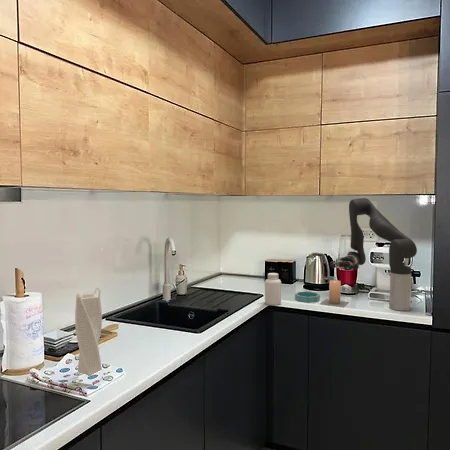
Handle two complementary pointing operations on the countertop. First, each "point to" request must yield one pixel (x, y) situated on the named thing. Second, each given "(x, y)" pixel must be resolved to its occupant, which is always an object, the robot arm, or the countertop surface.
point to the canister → (334, 291)
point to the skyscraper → (88, 331)
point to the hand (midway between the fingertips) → (341, 267)
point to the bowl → (307, 297)
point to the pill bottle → (273, 289)
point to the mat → (342, 304)
